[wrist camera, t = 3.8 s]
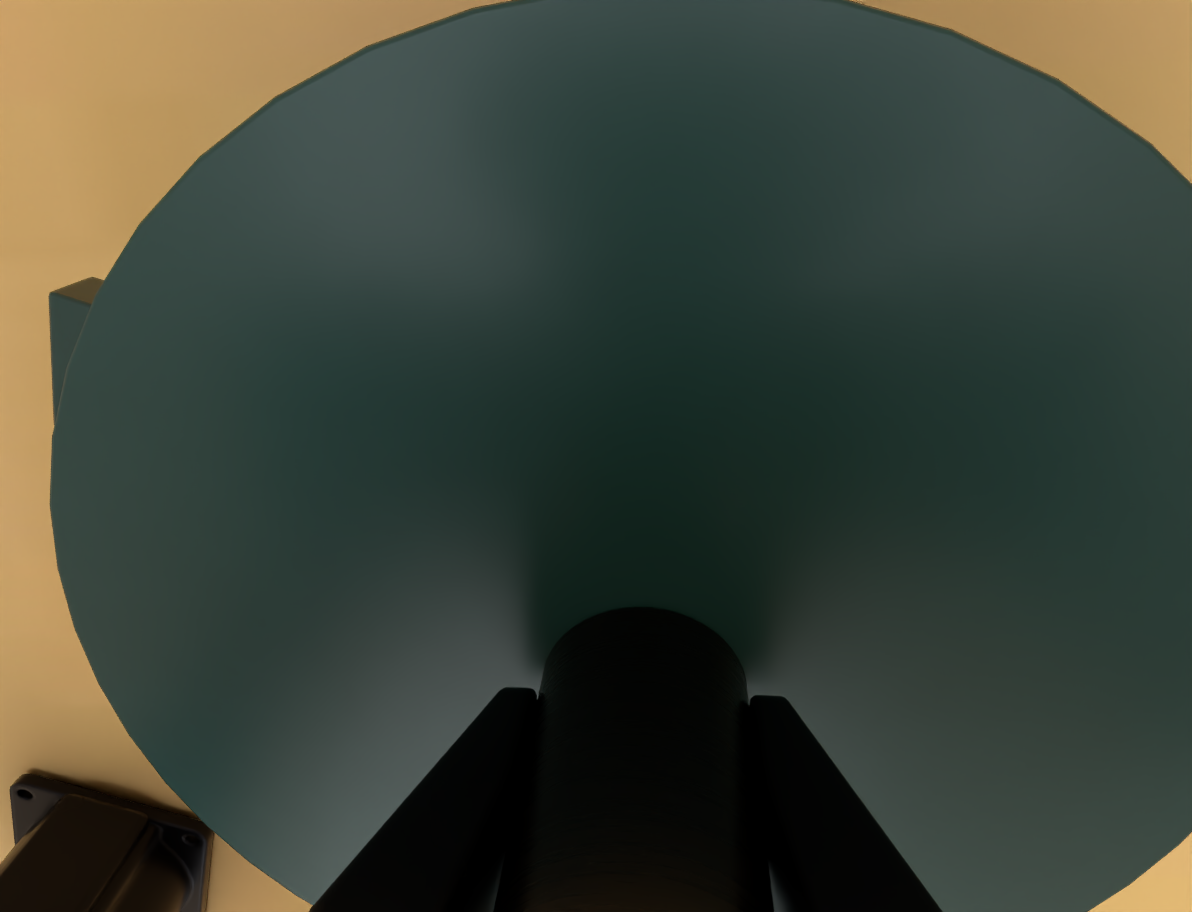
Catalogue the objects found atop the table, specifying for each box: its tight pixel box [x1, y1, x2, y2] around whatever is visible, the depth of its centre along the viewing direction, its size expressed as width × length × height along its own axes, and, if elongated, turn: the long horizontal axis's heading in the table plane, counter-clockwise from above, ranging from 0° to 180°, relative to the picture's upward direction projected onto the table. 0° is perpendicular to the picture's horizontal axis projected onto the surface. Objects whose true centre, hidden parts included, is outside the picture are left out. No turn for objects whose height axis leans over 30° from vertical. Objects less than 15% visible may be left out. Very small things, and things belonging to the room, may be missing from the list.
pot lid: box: [50, 0, 1192, 912], centre depth 8 cm, size 15×15×6 cm
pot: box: [49, 277, 104, 426], centre depth 14 cm, size 14×20×6 cm
